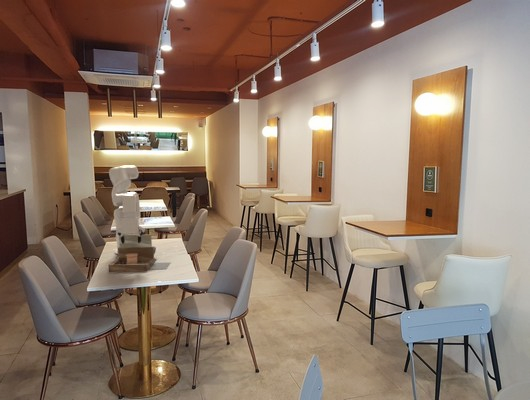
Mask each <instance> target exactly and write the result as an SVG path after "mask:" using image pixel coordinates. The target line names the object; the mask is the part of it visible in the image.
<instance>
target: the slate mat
mask: <svg viewBox="0 0 530 400" xmlns="http://www.w3.org/2000/svg"><path fill="white" fill-rule="evenodd" d="M170 264H172V262H154V263H153V264H152V265H151V266H150V267H149V269H148V270H150V271H152V270H167V268H168V267H169V266H170Z"/></svg>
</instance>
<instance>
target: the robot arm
mask: <svg viewBox="0 0 530 400" xmlns="http://www.w3.org/2000/svg"><path fill="white" fill-rule="evenodd" d="M138 169H139V168H138V167H137V166H136V165H120V166H116V167H115V166H114V167H111V168H110V169H109V171H108V173H109V174H108V175H109V179H110V181H111V183H112V186H113V187H112V189H111V201H112V204H113V206H114V207H118V208H116V209H115V210H113V218H114V225H115V235H116V236H115V237H116V250H115V251H114V254H115V255H118V248H119V247H120V243H119V236H120V237H121V242H122V244H123V243H125V239H124V235H138V243H140V242H141V235H144V234H145V231H146V228H144V227H142V226H140V219H141V208H140V207H141V206H140V197H139V194H138V193H137V192H135V191H130V192H129V191H128V189H130V187H131V186H132V180H135V179H138V178H139V170H138ZM140 231H141V232H140Z"/></svg>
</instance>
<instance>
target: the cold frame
mask: <svg viewBox="0 0 530 400" xmlns="http://www.w3.org/2000/svg"><path fill="white" fill-rule="evenodd" d="M124 239H125V243H123V244H122V242H121V237H120V236H119V243H120V247H119V248H118V254H117V255H118V258H117V259H116V260H115V261H114V262H113V263H111V264H108V266H107V267H108V273H112V272H115V273H116V272H118V273H119V272H147V271H148V270H149V269H150V268H151V267H152V265H153V264H154V263H155V254H154V247H155V246H153V245H152V244H153V243H152V242H153V241H152V239H153V238H152V234H142V235H141V242H140V243H138V235H137V234H131V235H124ZM152 246H153V247H152ZM128 253H138V256H137V264H127V257H126V254H128Z"/></svg>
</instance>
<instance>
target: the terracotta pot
mask: <svg viewBox="0 0 530 400" xmlns="http://www.w3.org/2000/svg"><path fill="white" fill-rule="evenodd" d="M137 256H138V253H128V254H126V257H127V263H126V264H138V263H137Z"/></svg>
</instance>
